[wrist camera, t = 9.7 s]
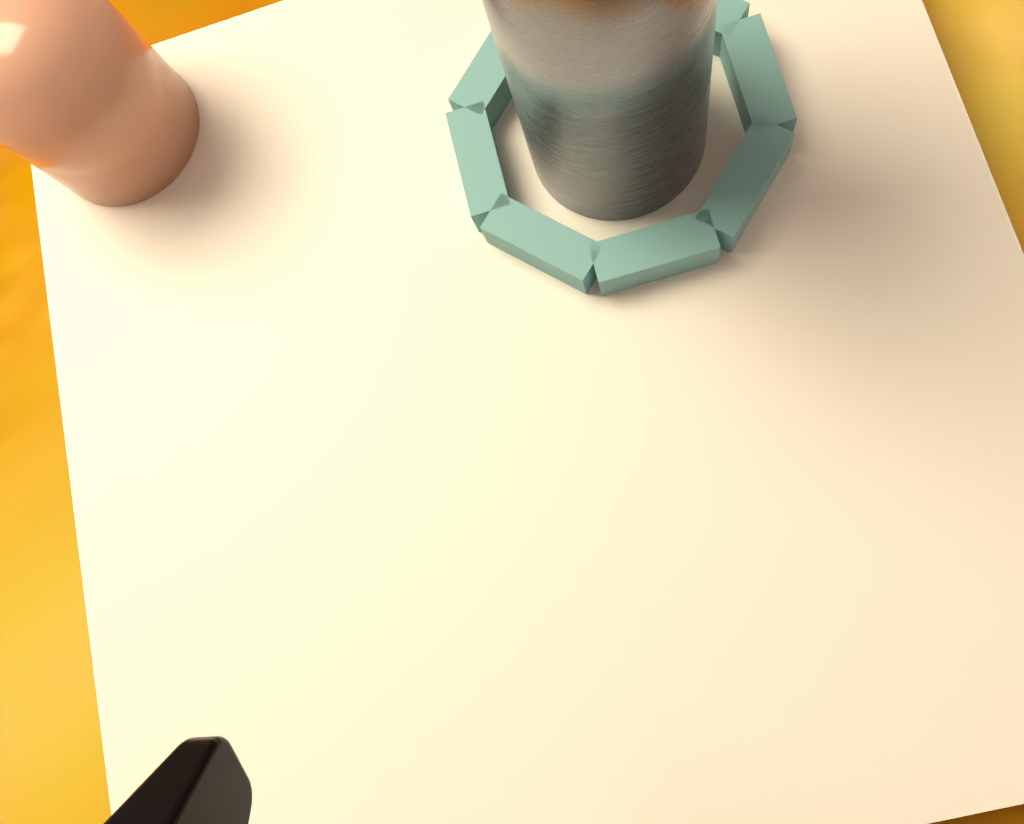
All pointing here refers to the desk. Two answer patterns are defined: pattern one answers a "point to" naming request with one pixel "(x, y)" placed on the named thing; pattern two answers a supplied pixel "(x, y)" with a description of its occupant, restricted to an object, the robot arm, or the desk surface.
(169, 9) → the desk surface
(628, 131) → the shiny metal cylinder
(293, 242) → the board
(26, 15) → the peach rounded cylinder
